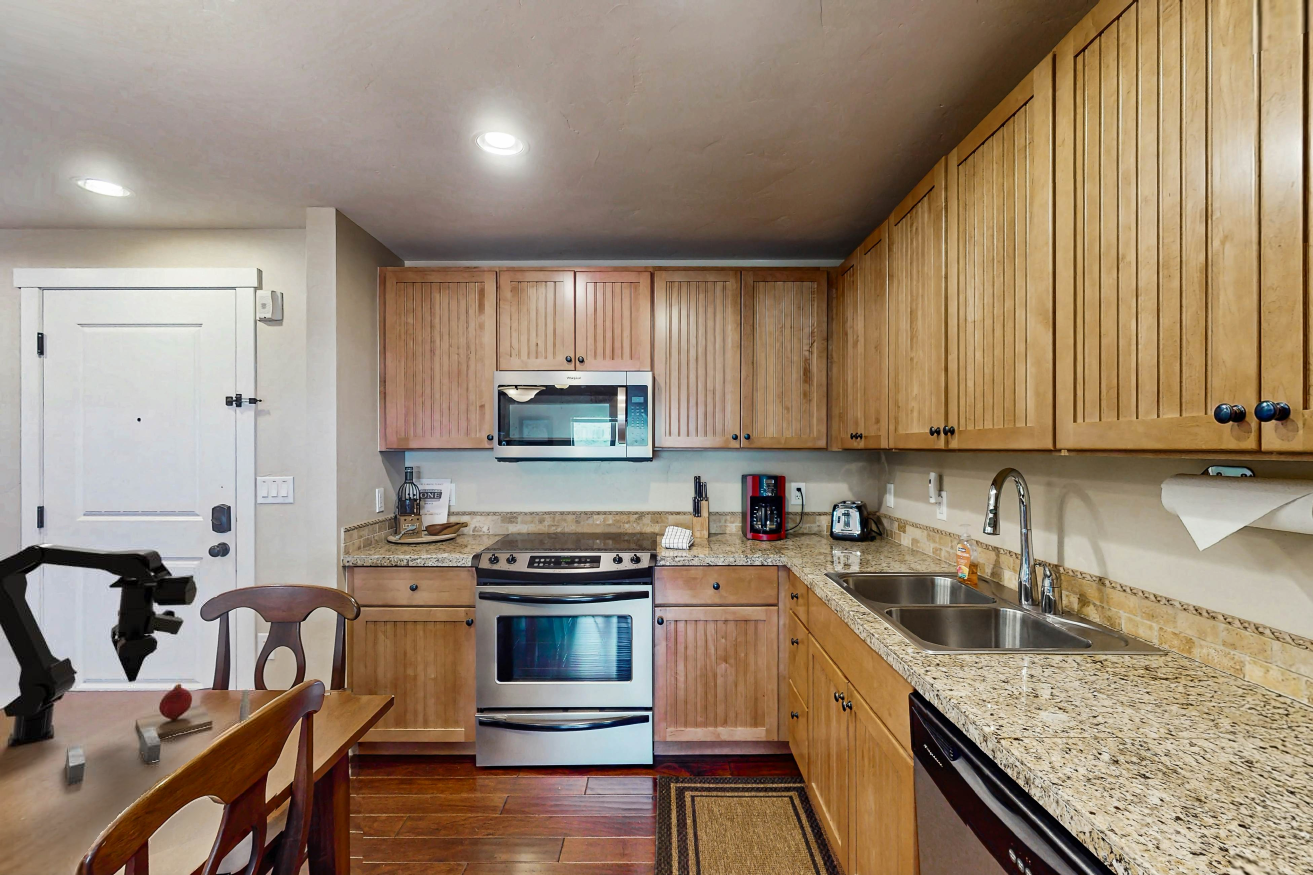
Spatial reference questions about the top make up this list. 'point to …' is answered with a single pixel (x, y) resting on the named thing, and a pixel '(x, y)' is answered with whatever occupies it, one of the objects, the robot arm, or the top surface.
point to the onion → (175, 703)
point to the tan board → (175, 722)
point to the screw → (244, 706)
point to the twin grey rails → (76, 760)
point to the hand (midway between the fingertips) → (129, 675)
